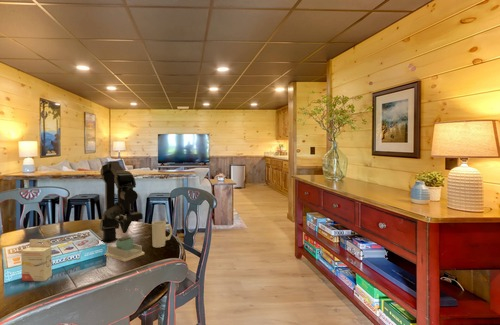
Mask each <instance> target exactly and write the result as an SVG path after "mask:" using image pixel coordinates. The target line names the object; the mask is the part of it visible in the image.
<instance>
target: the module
mask: <svg viewBox="0 0 500 325" xmlns="http://www.w3.org/2000/svg"><path fill="white" fill-rule="evenodd" d="M115 241H116V242H115V247H116V248H119V249H123V250H126V251H127V250H130V249H133V244H134V238H133V237H131V236H129V235H128V236H127V235H126V236H123V237H120V238H119V237H118V240H115Z"/></svg>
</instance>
